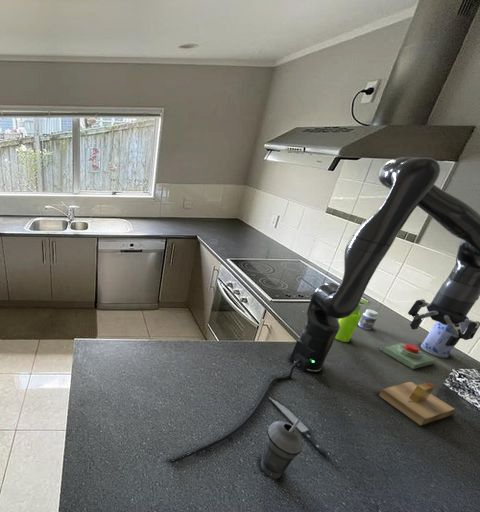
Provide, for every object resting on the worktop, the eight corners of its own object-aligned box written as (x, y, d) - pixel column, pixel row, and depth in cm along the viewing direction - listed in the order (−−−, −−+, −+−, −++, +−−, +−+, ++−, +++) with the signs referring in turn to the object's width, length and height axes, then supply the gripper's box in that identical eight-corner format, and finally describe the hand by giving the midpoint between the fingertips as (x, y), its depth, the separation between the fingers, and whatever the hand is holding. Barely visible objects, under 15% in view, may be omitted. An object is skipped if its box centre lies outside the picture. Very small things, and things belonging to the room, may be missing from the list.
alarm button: (413, 354, 108) (415, 350, 108) (402, 348, 112) (404, 344, 111) (419, 352, 109) (421, 349, 109) (408, 346, 112) (410, 343, 112)
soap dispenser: (345, 344, 118) (364, 304, 110) (328, 334, 124) (346, 295, 116) (355, 342, 119) (375, 302, 111) (338, 332, 125) (356, 294, 118)
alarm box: (412, 369, 106) (418, 361, 104) (382, 351, 115) (386, 343, 113) (431, 364, 109) (437, 356, 107) (400, 347, 118) (404, 339, 116)
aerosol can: (452, 355, 114) (480, 314, 106) (442, 359, 111) (471, 318, 104) (425, 342, 121) (450, 303, 113) (416, 346, 118) (441, 306, 110)
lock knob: (416, 402, 88) (425, 389, 86) (409, 397, 90) (417, 384, 88) (426, 399, 90) (435, 386, 87) (419, 394, 91) (428, 381, 89)
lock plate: (420, 425, 84) (425, 418, 83) (378, 395, 94) (382, 388, 93) (450, 415, 88) (455, 408, 87) (406, 387, 98) (411, 380, 96)
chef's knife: (275, 396, 92) (268, 397, 92) (276, 394, 92) (269, 395, 91) (332, 455, 75) (323, 457, 74) (334, 453, 75) (325, 455, 74)
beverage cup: (275, 453, 75) (299, 400, 67) (294, 484, 69) (323, 429, 61) (249, 453, 75) (270, 400, 67) (265, 484, 68) (290, 430, 60)
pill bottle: (359, 327, 129) (367, 312, 126) (356, 322, 133) (363, 307, 130) (372, 331, 127) (380, 315, 124) (369, 325, 131) (377, 310, 128)
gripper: (419, 284, 91) (396, 325, 97) (485, 309, 79) (453, 353, 85) (433, 282, 93) (410, 322, 100) (499, 305, 81) (468, 349, 87)
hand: (430, 336), depth 92 cm, fingers open, 8 cm apart
